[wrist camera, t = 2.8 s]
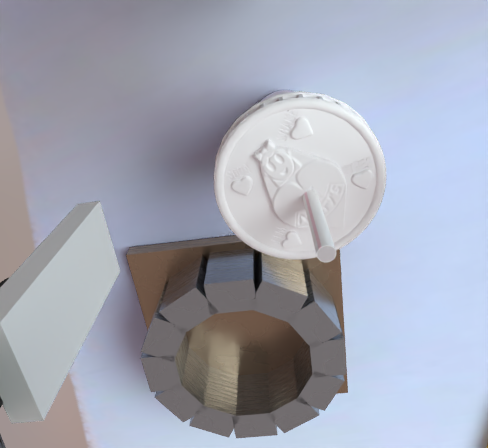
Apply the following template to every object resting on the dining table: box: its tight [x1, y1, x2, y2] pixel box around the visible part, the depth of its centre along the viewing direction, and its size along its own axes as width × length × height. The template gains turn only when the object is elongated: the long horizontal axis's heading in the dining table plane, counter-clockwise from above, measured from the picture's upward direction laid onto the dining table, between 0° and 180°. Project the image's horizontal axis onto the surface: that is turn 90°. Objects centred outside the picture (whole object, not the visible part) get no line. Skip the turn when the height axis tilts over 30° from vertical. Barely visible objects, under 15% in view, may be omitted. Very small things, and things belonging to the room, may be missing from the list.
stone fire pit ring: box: [126, 235, 348, 438], centre depth 29 cm, size 13×13×4 cm
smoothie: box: [214, 90, 386, 262], centre depth 19 cm, size 6×6×14 cm
